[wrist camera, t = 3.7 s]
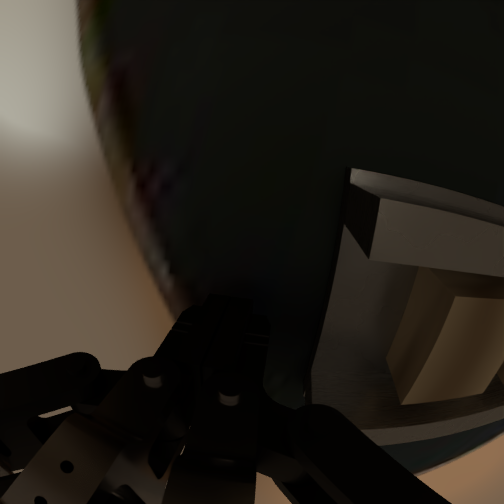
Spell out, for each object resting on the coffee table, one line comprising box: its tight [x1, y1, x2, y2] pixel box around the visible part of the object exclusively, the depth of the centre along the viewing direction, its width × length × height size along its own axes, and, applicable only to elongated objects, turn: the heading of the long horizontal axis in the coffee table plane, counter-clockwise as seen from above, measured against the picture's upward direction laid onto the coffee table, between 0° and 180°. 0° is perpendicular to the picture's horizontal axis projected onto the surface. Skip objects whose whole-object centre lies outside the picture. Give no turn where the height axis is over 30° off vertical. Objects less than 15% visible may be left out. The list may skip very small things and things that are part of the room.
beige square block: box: [386, 266, 504, 405], centre depth 9 cm, size 5×5×3 cm
